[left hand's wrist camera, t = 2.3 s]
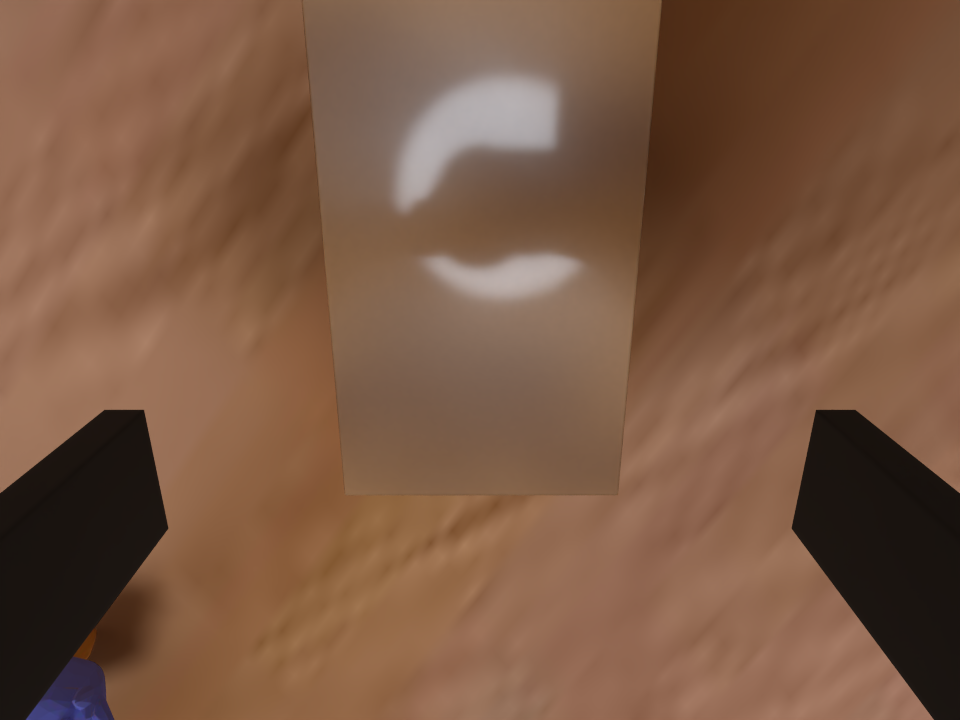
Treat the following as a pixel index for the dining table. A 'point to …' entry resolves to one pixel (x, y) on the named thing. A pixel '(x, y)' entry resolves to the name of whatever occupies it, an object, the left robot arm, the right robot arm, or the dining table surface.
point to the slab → (481, 236)
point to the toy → (76, 690)
